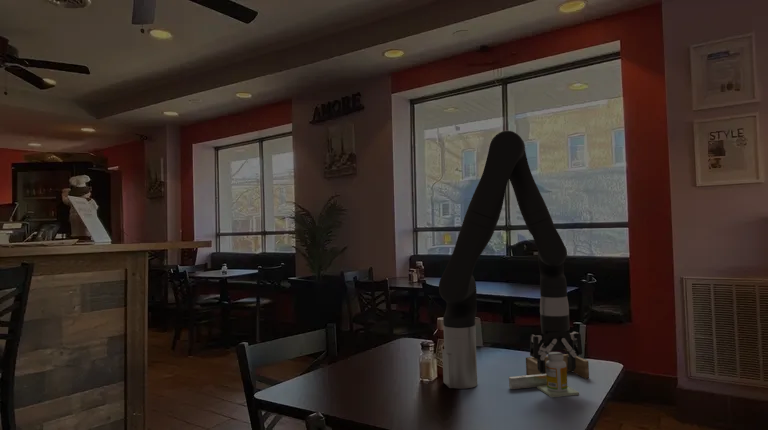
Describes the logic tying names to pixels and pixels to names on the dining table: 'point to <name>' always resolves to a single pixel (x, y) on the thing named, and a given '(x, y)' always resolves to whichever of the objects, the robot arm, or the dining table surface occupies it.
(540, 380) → the bar
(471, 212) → the robot arm
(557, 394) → the coaster
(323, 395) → the dining table surface
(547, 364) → the supplement bottle
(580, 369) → the bracket
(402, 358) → the dining table surface
